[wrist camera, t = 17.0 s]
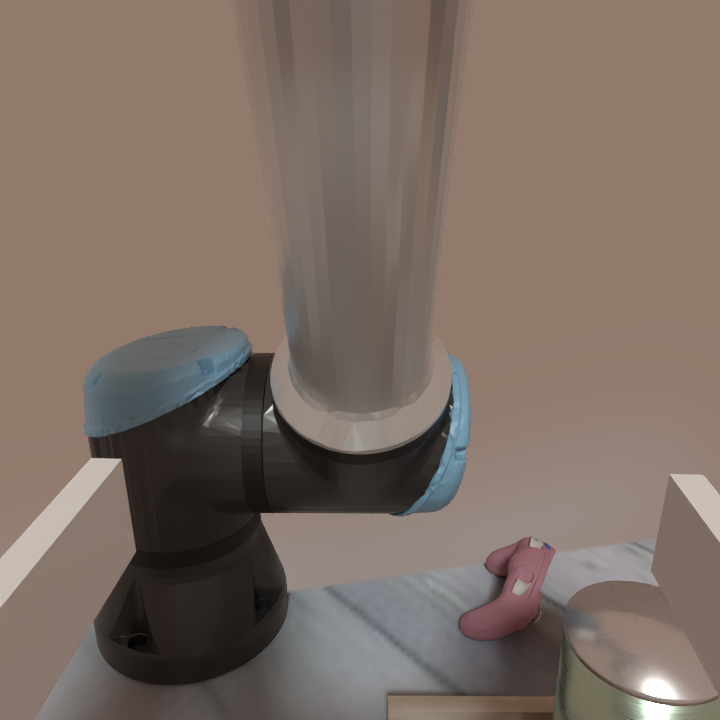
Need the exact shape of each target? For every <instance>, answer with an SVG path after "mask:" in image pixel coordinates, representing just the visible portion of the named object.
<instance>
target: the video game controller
mask: <svg viewBox="0 0 720 720" xmlns="http://www.w3.org/2000/svg"><path fill="white" fill-rule="evenodd" d="M554 554H555V549H553V548H552V547H551V546H549V545H548V544H546V543H544V542H543V541H541V540H536V539H534V538H533V537H532V536H531V537H530V538H529V537H526V538H523V539H522V540H520V541H518V542H517V543H515V544H512V545H510V546H507V547H504V548H500V549H498V550H496V551H494V552H492V553H491V554H490V555H489V556H488V557H487V559H486V567H487V569H488V570H489V571H490V573H492V574H495V575H498V576H507V579H506V581H505V583H504V586H503V589H502V592H501V595H500V596H499V597H498V598H497V599H495V600H494V601H492V602H491V603H489V604H487V605H484V606H482V607H479V608H476V609H474V610H471V611H469V612H467V613H466V614H465V615H464V616H463V617H462V618H461V620H460V629H461V631H462V633H463V634H464V635H465V636H467V637H469V638H471V639H474V640H481V641H485V640H495V639H499V638H502V637H504V636H507V635H509V634H511V633H513V632H515V631H519V632H520V631H522V630H523V629H524V628H525V627H526V626H527V624H528V623H529V622H530V621H531V620H532V624H535V623H537V622H538V621H539V620H540V618H541V614H542V613H541V612H542V611H541V610H538V612H537V608H538V607H539V604H540V602H541V599H542V593H541V592H540V588H541V586H542V584H543V581H544V579H545V576H546V573H547V570H548V567H549V565H550V563H551V561H552V559H553V557H554Z"/></svg>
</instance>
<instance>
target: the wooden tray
mask: <svg viewBox="0 0 720 720" xmlns="http://www.w3.org/2000/svg"><path fill="white" fill-rule="evenodd" d="M554 703H555V696H387V720H553V712H554Z"/></svg>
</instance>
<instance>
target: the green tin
mask: <svg viewBox="0 0 720 720" xmlns="http://www.w3.org/2000/svg"><path fill="white" fill-rule="evenodd" d="M553 720H720V697H719V695H718V694H717V692H716V690H715V688H714V686H713V684H712V682H711V681H710V679H709V677H708V675H707V673H706V671H705V670H704V668H703V666H702V664H701V662H700V660H699V658H698V657H697V655H696V653H695V651H694V649H693V647H692V645H691V644H690V642H689V640H688V638H687V636H686V634H685V632H684V631H683V629H682V627H681V625H680V623H679V621H678V620H677V618H676V616H675V614H674V612H673V610H672V608H671V607H670V605H669V603H668V601H667V599H666V597H665V595H664V594H663V592H662V590H661V588H660V587H657V586H653V585H649V584H645V583H639V582H632V581H606V582H600V583H596V584H593V585H590V586H587V587H585V588H583V589H581V590H580V591H578V592H577V593H576V594H575V595H574V596H573V597H572V598H571V599H570V600H569V602H568V604H567V606H566V609H565V613H564V622H563V631H562V640H561V649H560V658H559V667H558V676H557V685H556V694H555V703H554V712H553Z"/></svg>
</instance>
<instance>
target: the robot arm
mask: <svg viewBox="0 0 720 720" xmlns="http://www.w3.org/2000/svg"><path fill="white" fill-rule="evenodd" d="M231 5H232V11H233V17H234V23H235V29H236V35H237V41H238V47H239V53H240V59H241V65H242V71H243V76H244V83H245V88H246V95H247V101H248V107H249V113H250V118H251V125H252V131H253V137H254V143H255V149H256V155H257V161H258V167H259V173H260V179H261V185H262V190H263V197H264V203H265V209H266V215H267V221H268V227H269V233H270V239H271V244H272V251H273V257H274V263H275V269H276V275H277V280H278V286H279V293H280V298H281V305H282V310H283V317H284V323H285V329H286V336H285V338H284V339H283V341H282V342H281V344H280V345H279V347H278V349H277V351H276V353H252V344H251V342H250V341H249V340H248V337H247V335H246V334H245V333H244V332H243V331H241V330H239V329H237V328H227V327H225V326H200V327H191V328H184V329H179V330H173V331H168V332H163V333H159V334H155V335H151V336H148V337H145V338H142V339H139V340H136V341H133V342H130V343H128V344H125V345H123V346H121V347H118V348H116V349H115V350H113V351H111V352H109V353H107V354H106V355H104V356H103V357H101V358H100V359H99V360H98V361H97V362H95V363H94V364H93V365H92V367H91V368H90V369H89V371H88V372H87V374H86V376H85V379H84V383H83V396H84V410H85V424H84V431H85V434H86V435H87V436H88V441H89V447H90V453H91V459H90V460H89V461H88V463H86V465H85V466H84V467H83V468H82V469H81V470H80V471H79V472H78V473H77V474H76V476H75V477H74V478H73V479H72V480H71V481H70V482H69V483H68V485H67V486H66V487H65V488H64V489H63V490H62V491H61V492H60V493H59V494H58V495H57V497H56V498H55V499H54V500H53V501H52V502H51V503H50V504H49V506H48V507H47V508H46V509H45V510H44V511H43V512H42V513H41V514H40V515H39V516H38V518H37V519H36V520H35V521H34V522H33V523H32V524H31V525H30V526H29V528H28V529H27V530H26V531H25V532H24V533H23V534H22V535H21V537H20V538H19V539H18V540H17V541H16V542H15V543H14V544H13V545H12V546H11V547H10V549H9V550H8V551H7V552H6V553H5V554H4V555H3V556H2V557H1V559H0V720H34V718H35V717H36V715H37V713H38V712H39V710H40V708H41V707H42V705H43V703H44V702H45V700H46V699H47V697H48V695H49V694H50V692H51V690H52V689H53V687H54V685H55V684H56V682H57V681H58V679H59V677H60V676H61V674H62V672H63V671H64V669H65V667H66V666H67V664H68V663H69V661H70V659H71V658H72V656H73V654H74V653H75V651H76V649H77V648H78V646H79V644H80V643H81V641H82V640H83V638H84V636H85V635H86V633H87V631H88V630H89V628H90V626H91V625H92V623H93V622H94V626H95V632H96V637H97V643H98V647H99V649H100V652H101V654H102V656H103V657H104V659H105V660H106V661H107V662H108V663H109V664H110V665H111V666H112V667H113V668H114V669H115V670H117V671H118V672H120V673H122V674H123V675H125V676H128V677H130V678H133V679H135V680H139V681H142V682H147V683H153V684H165V685H171V684H185V683H192V682H198V681H202V680H206V679H210V678H213V677H216V676H219V675H222V674H224V673H226V672H229V671H231V670H233V669H235V668H237V667H239V666H241V665H242V664H244V663H246V662H247V661H249V660H250V659H252V658H253V657H255V656H256V655H257V654H258V653H260V652H261V651H262V650H263V649H264V648H265V647H266V646H267V645H268V644H269V643H270V642H271V641H272V640H273V638H274V637H275V636H276V634H277V633H278V631H279V630H280V628H281V626H282V624H283V622H284V619H285V616H286V612H287V584H286V576H285V572H284V569H283V566H282V564H281V562H280V560H279V557H278V555H277V553H276V551H275V549H274V547H273V545H272V542H271V540H270V538H269V536H268V534H267V532H266V530H265V527H264V525H263V523H262V521H261V515H260V513H389V514H390V515H394V516H404V515H410V514H412V513H421V512H435V511H438V510H441V509H442V508H444V507H445V506H447V505H448V504H449V503H450V502H451V500H452V499H453V498H454V496H455V494H456V493H457V491H458V488H459V486H460V484H461V481H462V478H463V474H464V471H465V466H466V452H465V449H466V447H467V446H468V445H469V438H470V425H471V405H470V404H471V403H470V392H469V385H468V379H467V375H466V371H465V368H464V366H463V364H462V363H461V361H460V360H459V359H458V358H456V357H455V356H452V355H451V354H447V352H446V350H445V348H444V346H443V344H442V343H441V341H440V340H439V338H438V337H437V336H436V335H435V333H434V325H435V318H436V310H437V302H438V294H439V286H440V278H441V270H442V262H443V254H444V245H445V237H446V230H447V222H448V214H449V205H450V198H451V190H452V182H453V175H454V167H455V159H456V151H457V142H458V135H459V127H460V119H461V111H462V103H463V95H464V87H465V78H466V71H467V63H468V55H469V47H470V39H471V31H472V23H473V16H474V8H475V0H231ZM651 571H652V573H653V575H654V577H655V579H656V581H657V583H658V584H659V586H660V588H661V590H662V592H663V594H664V595H665V597H666V599H667V601H668V603H669V605H670V607H671V608H672V610H673V612H674V614H675V616H676V618H677V620H678V621H679V623H680V625H681V627H682V629H683V631H684V632H685V634H686V636H687V638H688V640H689V642H690V644H691V645H692V647H693V649H694V651H695V653H696V655H697V657H698V658H699V660H700V662H701V664H702V666H703V668H704V670H705V671H706V673H707V675H708V677H709V679H710V681H711V682H712V684H713V686H714V688H715V690H716V692H717V694H718V695H719V697H720V495H719V494H718V492H717V491H716V490H715V489H714V487H713V486H712V485H711V484H710V483H709V482H708V480H707V479H706V478H705V477H704V475H681V474H679V475H678V474H670V475H669V480H668V485H667V490H666V496H665V501H664V506H663V511H662V516H661V521H660V527H659V532H658V537H657V542H656V547H655V552H654V557H653V563H652V568H651Z"/></svg>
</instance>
